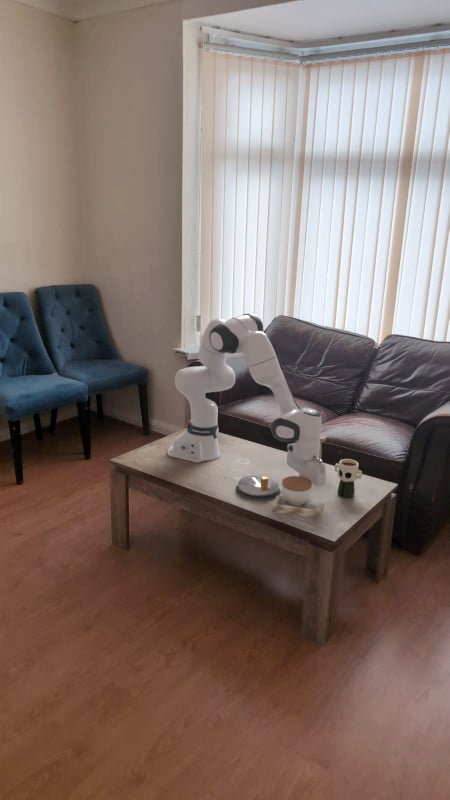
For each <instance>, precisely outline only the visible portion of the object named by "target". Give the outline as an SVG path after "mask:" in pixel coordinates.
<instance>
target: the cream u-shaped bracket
mask: <svg viewBox="0 0 450 800" xmlns="http://www.w3.org/2000/svg"><path fill="white" fill-rule="evenodd" d="M281 502H282V496H281V495H279V496H277V497H276V498H274V501H273V504H272V507H271V508H272V509H271V512H272V513H278V514H279V513H280V514H284V515H290V516H296V517H303V518H310V519H315V520H321V518H322V515H323V513H324V512H323V511H324V509H325V508H324V505H325V504H324V502H320V501H319V503H318V507H317V509H310V508H304V507H300V506H299V507H298V506H294V505H293V506H292V505H287V504H286V505H285V504H281Z"/></svg>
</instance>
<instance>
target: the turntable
mask: <svg viewBox="0 0 450 800" xmlns="http://www.w3.org/2000/svg"><path fill="white" fill-rule="evenodd" d="M237 483H238V484H237V485H238V490H239V491H240V492H241V493H242V494H244V495H246V496H250V497H255V498H266V497H271V496H273V495H275V494H276V493H277V492H278V487H279V483H278V482H277V480H275V479H273V478H272V477H269V476H267V475H266V476H265V475H248V476H245V477H242V478H240V479H239V480H238V482H237Z"/></svg>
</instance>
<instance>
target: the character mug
mask: <svg viewBox="0 0 450 800" xmlns="http://www.w3.org/2000/svg"><path fill="white" fill-rule="evenodd" d="M334 471H335V472H336V473H337V476H338V478H339V483H338V488H337V494H338V496H342V497H346V498H349V497H350V498H351V497H353V496H354V495H355V489H356V488H355V482H354V481H356V480H357V479H358V480H361V479H362V475H363V471H362V470H360V469H359V462H358V461H357V460H354V459H351V458H344V459H343V458H342V459H340V461H338V463H335V465H334Z"/></svg>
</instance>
